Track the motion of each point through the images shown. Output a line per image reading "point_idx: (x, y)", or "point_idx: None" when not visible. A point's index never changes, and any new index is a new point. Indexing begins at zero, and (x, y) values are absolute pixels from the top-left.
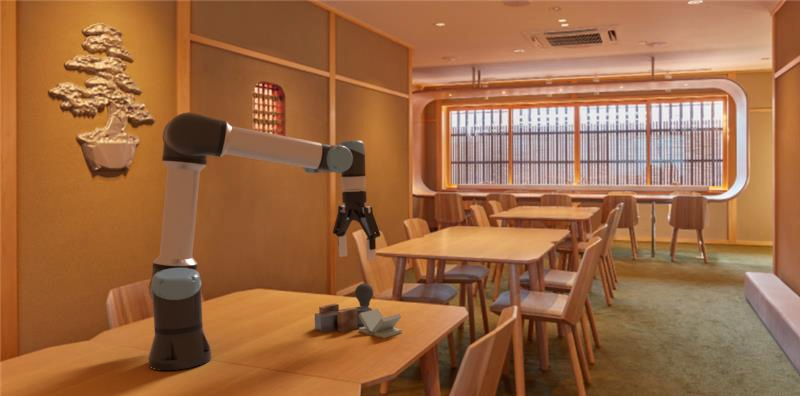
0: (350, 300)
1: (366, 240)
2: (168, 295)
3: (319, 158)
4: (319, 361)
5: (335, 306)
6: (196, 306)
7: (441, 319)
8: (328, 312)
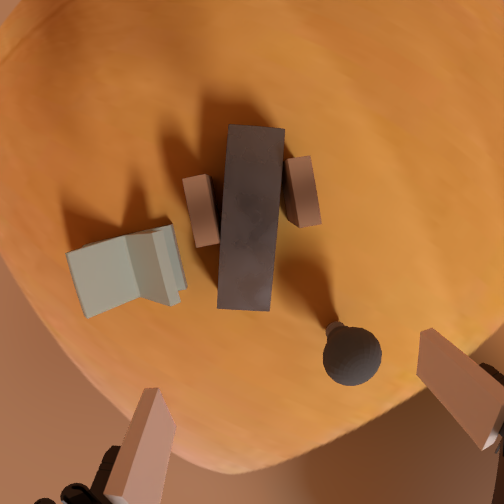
0: None
1: (119, 489)
2: None
3: None
4: (47, 66)
5: (296, 213)
6: None
7: None
8: (268, 171)
